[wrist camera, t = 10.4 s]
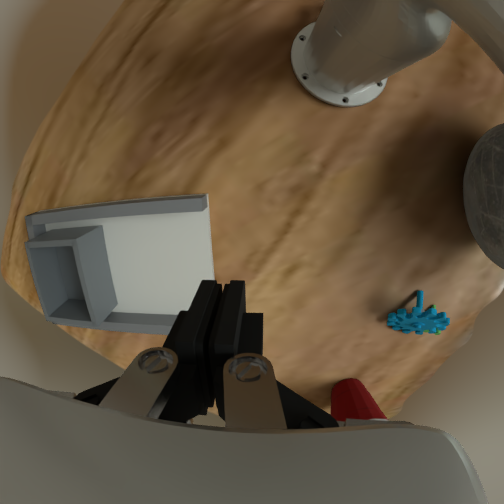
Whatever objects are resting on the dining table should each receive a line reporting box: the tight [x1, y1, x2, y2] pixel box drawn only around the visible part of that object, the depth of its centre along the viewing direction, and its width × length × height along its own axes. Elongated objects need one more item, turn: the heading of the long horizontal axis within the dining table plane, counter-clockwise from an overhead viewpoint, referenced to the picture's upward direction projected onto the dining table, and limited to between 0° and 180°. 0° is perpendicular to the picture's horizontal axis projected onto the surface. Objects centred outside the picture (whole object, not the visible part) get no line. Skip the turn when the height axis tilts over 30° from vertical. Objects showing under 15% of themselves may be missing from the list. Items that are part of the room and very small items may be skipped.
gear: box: [387, 291, 450, 335], centre depth 37 cm, size 11×6×10 cm
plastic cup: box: [331, 378, 389, 422], centre depth 40 cm, size 11×11×12 cm
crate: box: [24, 225, 118, 327], centre depth 35 cm, size 12×10×7 cm
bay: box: [25, 194, 215, 335], centre depth 37 cm, size 18×28×4 cm, turn 92°
